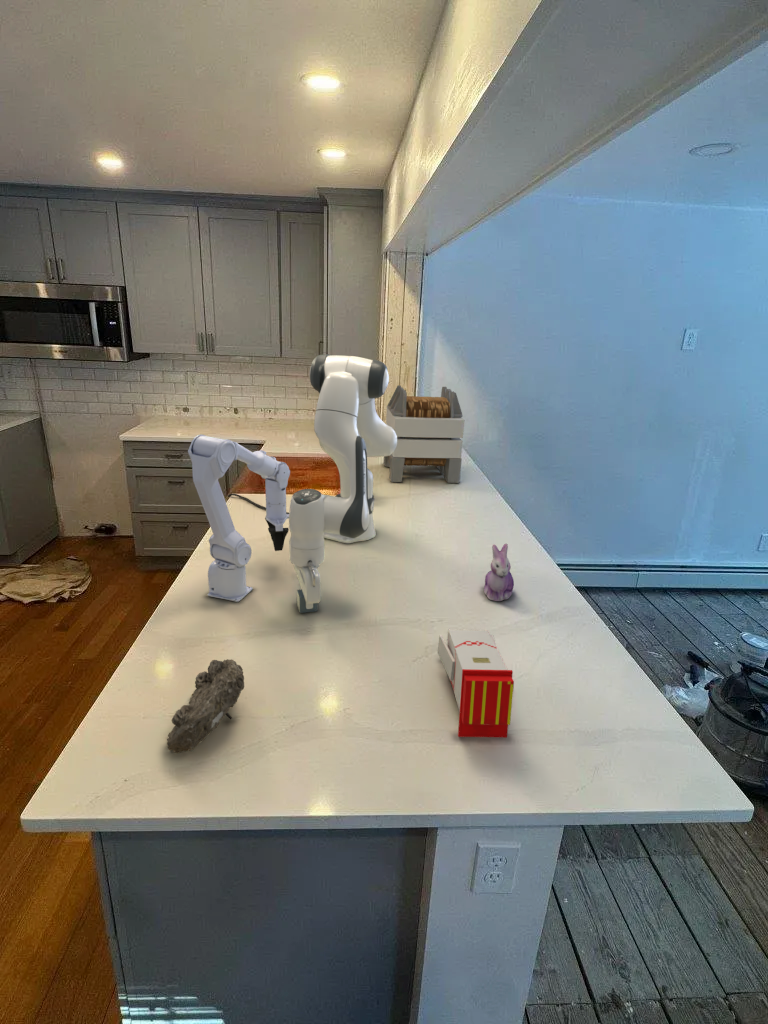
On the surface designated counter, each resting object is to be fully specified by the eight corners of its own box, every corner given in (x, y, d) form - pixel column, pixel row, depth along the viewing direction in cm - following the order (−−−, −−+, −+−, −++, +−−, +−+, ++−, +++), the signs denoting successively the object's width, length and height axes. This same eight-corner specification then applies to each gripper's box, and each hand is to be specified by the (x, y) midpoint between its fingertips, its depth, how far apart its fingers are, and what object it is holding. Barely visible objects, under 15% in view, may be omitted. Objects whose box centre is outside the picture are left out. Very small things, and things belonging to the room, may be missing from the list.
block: (317, 611, 147) (317, 595, 146) (299, 613, 146) (299, 597, 144) (314, 602, 151) (314, 588, 150) (297, 604, 150) (296, 589, 148)
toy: (488, 613, 130) (523, 677, 101) (484, 667, 133) (517, 744, 104) (435, 612, 130) (455, 676, 101) (432, 666, 133) (451, 743, 103)
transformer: (382, 463, 289) (386, 382, 275) (445, 464, 293) (451, 384, 279) (390, 482, 257) (394, 392, 243) (460, 483, 261) (468, 394, 247)
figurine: (496, 605, 154) (502, 555, 148) (473, 589, 162) (479, 540, 157) (523, 599, 158) (530, 549, 153) (500, 583, 166) (506, 536, 161)
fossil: (192, 660, 117) (244, 628, 112) (224, 691, 120) (276, 661, 115) (142, 746, 98) (202, 712, 93) (182, 779, 101) (242, 748, 96)
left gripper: (293, 509, 157) (294, 553, 162) (286, 493, 170) (287, 534, 175) (267, 510, 155) (269, 555, 160) (262, 494, 168) (264, 536, 173)
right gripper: (327, 570, 135) (326, 620, 139) (312, 537, 153) (312, 583, 158) (301, 572, 133) (301, 623, 138) (289, 539, 151) (289, 585, 156)
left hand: (277, 545), depth 167 cm, fingers open, 7 cm apart
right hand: (307, 602), depth 148 cm, fingers closed on block, 4 cm apart
